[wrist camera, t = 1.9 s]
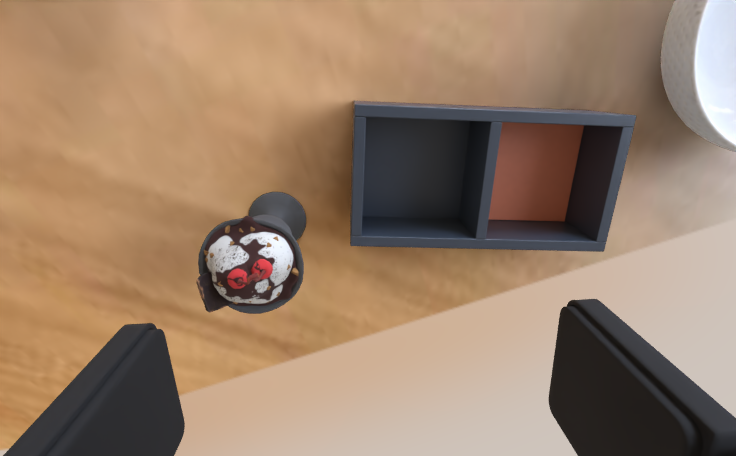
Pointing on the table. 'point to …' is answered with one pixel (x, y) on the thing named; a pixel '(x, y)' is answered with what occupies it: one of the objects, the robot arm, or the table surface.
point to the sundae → (254, 257)
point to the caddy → (485, 176)
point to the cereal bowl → (702, 67)
